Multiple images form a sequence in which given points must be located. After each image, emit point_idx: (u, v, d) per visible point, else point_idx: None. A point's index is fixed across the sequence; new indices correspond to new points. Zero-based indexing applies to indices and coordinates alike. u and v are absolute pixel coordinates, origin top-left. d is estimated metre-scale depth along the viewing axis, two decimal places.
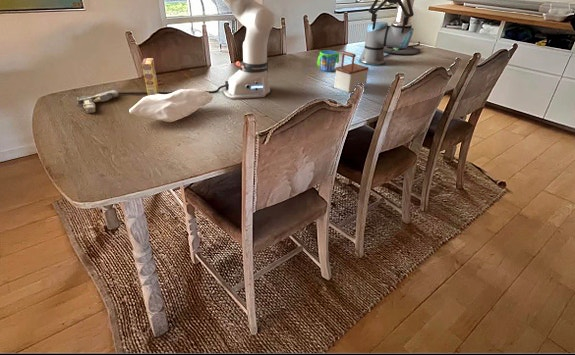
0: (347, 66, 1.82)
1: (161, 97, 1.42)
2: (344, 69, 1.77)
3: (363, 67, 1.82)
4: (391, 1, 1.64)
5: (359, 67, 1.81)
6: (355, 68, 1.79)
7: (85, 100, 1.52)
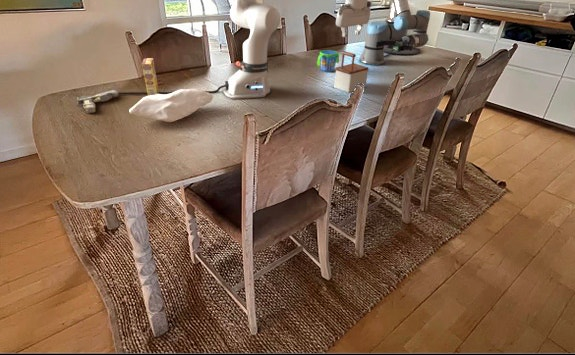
0: (347, 66, 1.82)
1: (161, 97, 1.42)
2: (344, 69, 1.77)
3: (363, 67, 1.82)
4: (400, 46, 2.00)
5: (359, 67, 1.81)
6: (355, 68, 1.79)
7: (85, 100, 1.52)
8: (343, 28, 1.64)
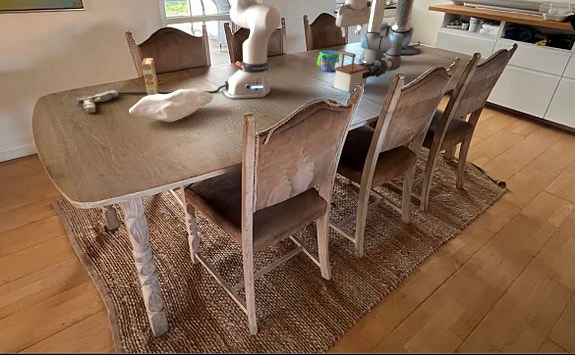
0: (347, 66, 1.82)
1: (161, 97, 1.42)
2: (344, 69, 1.77)
3: (363, 67, 1.82)
4: None
5: (359, 67, 1.81)
6: (355, 68, 1.79)
7: (85, 100, 1.52)
8: (343, 28, 1.64)
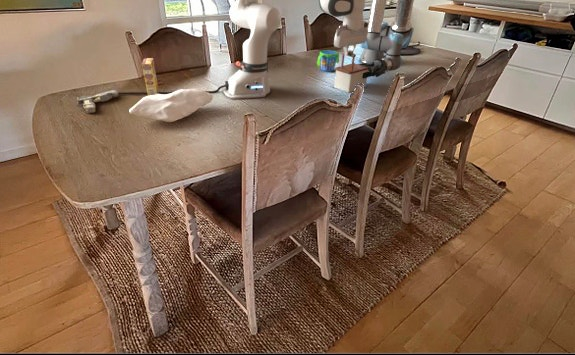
0: (347, 66, 1.82)
1: (161, 97, 1.42)
2: (344, 69, 1.77)
3: (363, 67, 1.82)
4: None
5: (359, 67, 1.81)
6: (355, 68, 1.79)
7: (85, 100, 1.52)
8: (345, 47, 1.70)
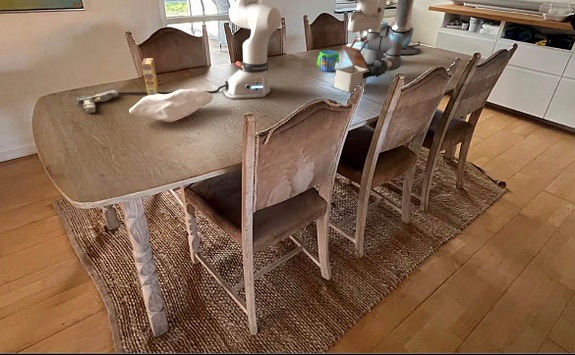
0: None
1: (161, 97, 1.42)
2: None
3: None
4: None
5: None
6: None
7: (85, 100, 1.52)
8: (359, 32, 1.72)
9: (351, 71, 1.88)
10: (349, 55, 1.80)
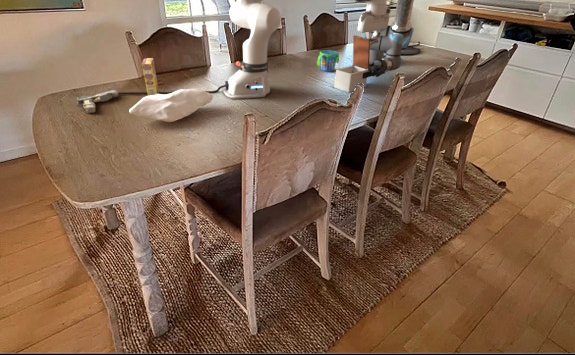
0: None
1: (161, 97, 1.42)
2: None
3: None
4: None
5: None
6: None
7: (85, 100, 1.52)
8: (368, 33, 1.77)
9: (351, 71, 1.88)
10: (355, 48, 1.81)
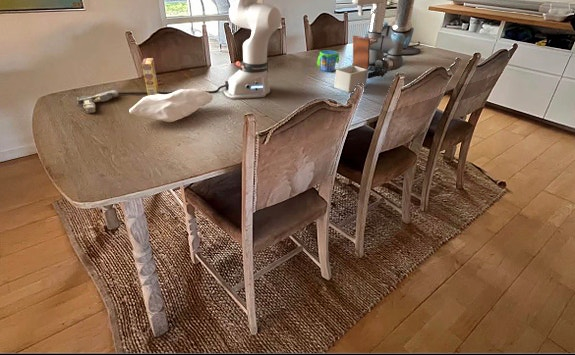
0: None
1: (161, 97, 1.42)
2: None
3: None
4: None
5: None
6: None
7: (85, 100, 1.52)
8: (359, 6, 1.65)
9: (351, 71, 1.88)
10: (355, 49, 1.81)
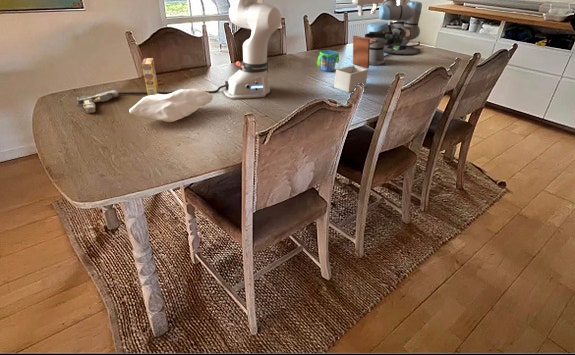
0: None
1: (161, 97, 1.42)
2: None
3: None
4: None
5: None
6: None
7: (85, 100, 1.52)
8: (359, 6, 1.65)
9: (351, 71, 1.88)
10: (355, 49, 1.81)
